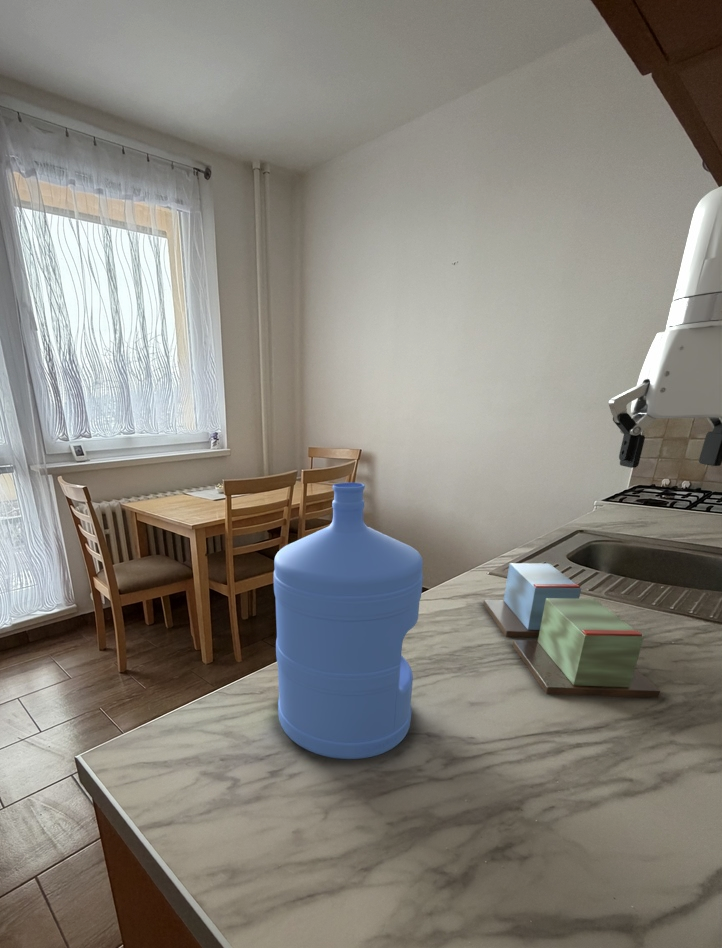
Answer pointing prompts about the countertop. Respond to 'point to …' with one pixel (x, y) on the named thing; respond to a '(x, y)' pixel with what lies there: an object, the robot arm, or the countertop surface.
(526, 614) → the far tissue box
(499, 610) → the dark brown base plate
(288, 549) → the water jug
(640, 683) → the brown wooden board
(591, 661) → the near tissue box
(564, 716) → the countertop surface
